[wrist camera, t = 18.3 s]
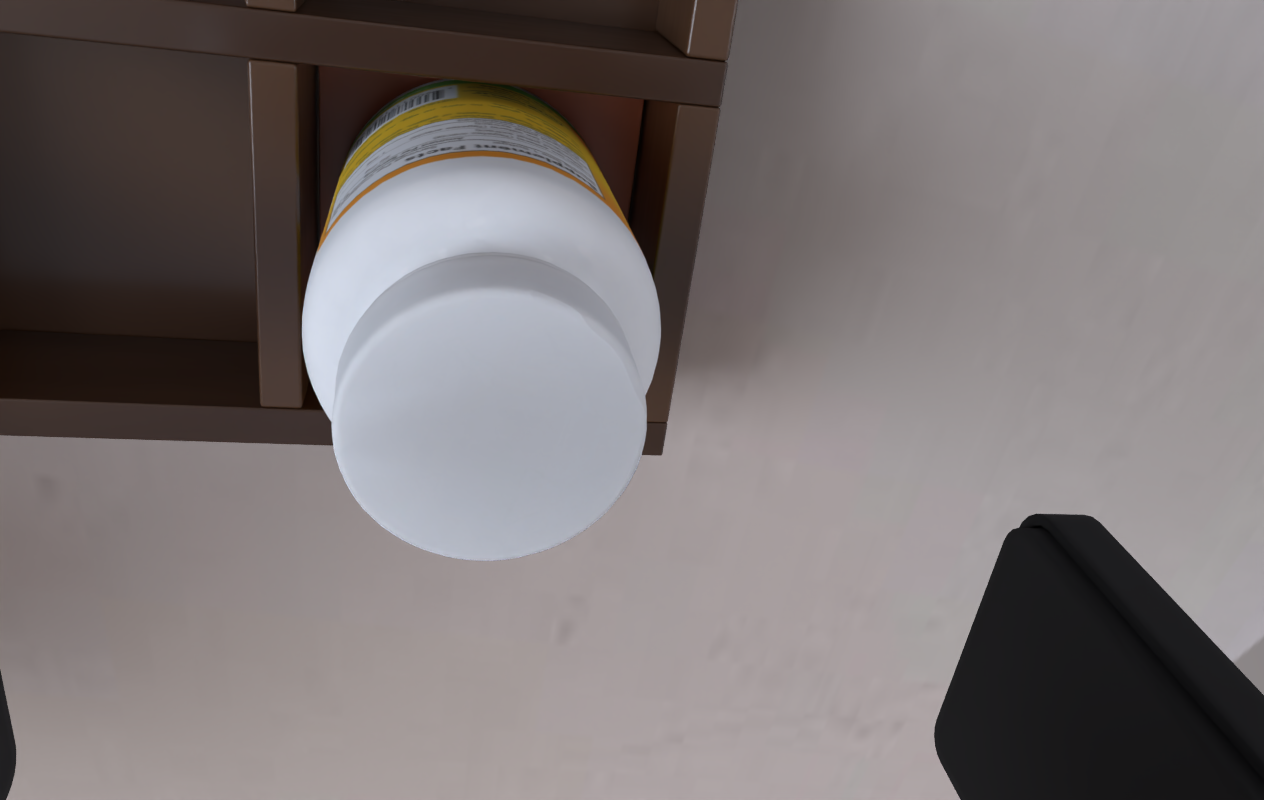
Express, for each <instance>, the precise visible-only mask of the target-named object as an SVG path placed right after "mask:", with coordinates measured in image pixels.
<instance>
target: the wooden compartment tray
mask: <svg viewBox="0 0 1264 800" xmlns="http://www.w3.org/2000/svg"><path fill="white" fill-rule="evenodd" d="M737 6H738V0H0V435H11V436H44V437H76V438H109V439H142V440H174V441H207V442H239V443H272V444H305V445H333V439H332V426H331V425H332V422H331V421H330V419H329V418H328V416H327V414H326V413H325V411H324V409H323V408H322V406H321V404H320V402H319V400H318V398H317V396H316V394H315V391H314V389H313V387H312V384H311V381H310V378H309V375H308V372H307V368H306V363H305V359H304V353H303V344H302V314H303V306H304V298H305V293H306V289H307V284H308V280H309V276H310V273H311V269H312V266H313V262H314V259H315V256H316V252H317V249H318V246H319V243H320V240H321V236H322V233H323V230H324V227H325V224H326V220H327V217H328V214H329V210H330V207H331V203H332V200H333V196H334V193H335V190H336V186H337V183H338V180H339V176H340V173H341V170H342V167H343V164H344V160H345V158H346V156H347V154H348V152H349V150H350V148H351V146H352V144H353V142H354V140H355V139H356V137H357V136H358V134H359V133H360V131H361V130H362V129H363V127H364V126H365V125H366V123H367V122H368V121H369V120H370V119H371V118H372V117H373V116H374V115H375V114H376V113H377V112H378V111H379V110H380V109H381V108H382V107H383V106H385V105H386V104H387V103H388V102H390V101H391V100H393V99H394V98H396V97H397V96H399V95H401V94H403V93H404V92H406V91H409V90H411V89H413V88H415V87H418V86H420V85H423V84H426V83H429V82H433V81H437V80H442V79H451V80H460V81H470V82H479V83H489V84H499V85H508V86H517V87H520V88H522V89H524V90H526V91H528V92H530V93H532V94H534V95H536V96H538V97H539V98H541V99H543V100H544V101H546V102H547V103H548V104H550V105H551V106H553V107H554V108H555V109H556V110H557V111H559V112H560V113H561V114H562V115H563V116H564V117H565V118H566V119H567V120H568V121H569V122H570V123H571V124H572V125H573V127H574V128H575V129H576V130H577V132H578V133H579V134H580V136H581V137H582V139H583V140H584V142H585V143H586V145H587V146H588V148H589V149H590V151H591V153H592V155H593V157H594V159H595V160H596V162H597V164H598V166H599V168H600V170H601V172H602V174H603V176H604V178H605V180H606V182H607V184H608V186H609V187H610V190H611V192H612V194H613V196H614V198H615V200H616V201H617V203H618V205H619V207H620V209H621V211H622V213H623V215H624V217H625V219H626V221H627V223H628V225H629V227H630V229H631V231H632V233H633V235H634V237H635V239H636V241H637V242H638V244H639V246H640V248H641V250H642V252H643V255H644V257H645V259H646V262H647V265H648V267H649V270H650V272H651V275H652V278H653V281H654V285H655V288H656V292H657V297H658V302H659V308H660V321H661V339H660V348H659V354H658V360H657V364H656V367H655V371H654V375H653V379H652V381H651V384H650V386H649V388H648V391H647V393H646V395H645V398H646V406H647V431H646V438H645V443H644V447H643V451H642V455H662V452H663V446H664V441H665V435H666V429H667V421H668V416H669V411H670V405H671V399H672V393H673V387H674V381H675V375H676V369H677V363H678V357H679V351H680V346H681V340H682V334H683V328H684V322H685V316H686V310H687V304H688V298H689V292H690V286H691V281H692V275H693V269H694V263H695V257H696V251H697V245H698V239H699V233H700V227H701V221H702V216H703V210H704V204H705V198H706V192H707V186H708V180H709V174H710V168H711V162H712V156H713V151H714V145H715V139H716V133H717V127H718V121H719V115H720V108H718V107H720V105H721V102H722V97H723V91H724V85H725V79H726V73H727V67H728V65H727V62H725V61H726V60H727V59H728V57H729V53H730V47H731V42H732V36H733V30H734V24H735V18H736V12H737Z"/></svg>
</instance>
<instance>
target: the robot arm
mask: <svg viewBox="0 0 1264 800" xmlns="http://www.w3.org/2000/svg"><path fill="white" fill-rule="evenodd" d="M934 738H935V746H936V751H937V755H938V757H939V759H940V762H941V764H942V766H943V767H944V769H945V771H946V773H947V775H948V777H949V779H950V781H951V782H952V784H953V786H954V788H955V790H956V792H957V794H958V796H959V797H960V799H961V800H1264V695H1263V694H1262V693H1261V692H1260V691H1259V690H1258V689H1257V688H1256V687H1255V686H1254V685H1253V684H1252V682H1251V681H1250V680H1249V679H1248V678H1247V677H1246V676H1245V675H1244V674H1243V673H1242V672H1241V671H1240V670H1239V669H1238V668H1237V667H1236V666H1235V665H1234V663H1233V662H1232V661H1231V660H1230V659H1229V658H1228V657H1227V656H1226V655H1225V654H1224V653H1223V652H1222V651H1221V650H1220V649H1219V648H1218V647H1217V646H1216V644H1215V643H1214V642H1213V641H1212V640H1211V639H1210V638H1209V637H1208V636H1207V635H1206V634H1205V633H1204V632H1203V631H1202V630H1201V629H1200V628H1199V627H1198V626H1197V624H1196V623H1195V622H1194V621H1193V620H1192V619H1191V618H1190V617H1189V616H1188V615H1187V614H1186V613H1185V612H1184V611H1183V610H1182V609H1181V608H1180V607H1179V605H1178V604H1177V603H1176V602H1175V601H1174V600H1173V599H1172V598H1171V597H1170V596H1169V595H1168V594H1167V593H1166V592H1165V591H1164V590H1163V589H1162V588H1161V586H1160V585H1159V584H1158V583H1157V582H1156V581H1155V580H1154V579H1153V578H1152V577H1151V576H1150V575H1149V574H1148V573H1147V572H1146V571H1145V570H1144V569H1143V568H1142V566H1141V565H1140V564H1139V563H1138V562H1137V561H1136V560H1135V559H1134V558H1133V557H1132V556H1131V555H1130V554H1129V553H1128V552H1127V551H1126V550H1125V549H1124V547H1123V546H1122V545H1121V544H1120V543H1119V542H1118V541H1117V540H1116V539H1115V538H1114V537H1113V536H1112V535H1111V534H1110V533H1109V532H1108V531H1107V530H1106V528H1105V527H1104V526H1103V525H1102V524H1101V523H1100V522H1098V521H1097V520H1096V519H1094V518H1093V517H1091V516H1086V515H1065V514H1034V515H1031V516H1028V517H1027V518H1026V519H1025V520H1024V521H1023V522H1022V524H1021V525H1020V527H1019V528H1017V529H1013V530H1012V531H1011V532H1009V533H1008V534H1007V536H1006V538H1005V540H1004V542H1003V545H1002V548H1001V550H1000V553H999V556H998V558H997V561H996V564H995V566H994V569H993V572H992V574H991V577H990V580H989V582H988V585H987V588H986V590H985V593H984V595H983V598H982V601H981V603H980V606H979V609H978V611H977V614H976V617H975V619H974V622H973V625H972V627H971V630H970V633H969V635H968V638H967V641H966V643H965V646H964V649H963V651H962V654H961V657H960V659H959V662H958V665H957V667H956V670H955V673H954V675H953V678H952V681H951V683H950V686H949V688H948V691H947V694H946V696H945V699H944V702H943V704H942V707H941V710H940V712H939V715H938V718H937V721H936V725H935V733H934ZM15 766H16V745H15V739H14V735H13V730H12V725H11V720H10V715H9V710H8V705H7V700H6V696H5V691H4V686H3V681H2V676H1V671H0V800H6V798H7V796H8V793H9V791H10V788H11V785H12V781H13V777H14V773H15Z"/></svg>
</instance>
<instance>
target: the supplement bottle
mask: <svg viewBox="0 0 1264 800" xmlns="http://www.w3.org/2000/svg"><path fill="white" fill-rule="evenodd" d="M660 339H661V321H660V308H659V302H658V297H657V292H656V288H655V285H654V281H653V278H652V275H651V272H650V270H649V267H648V265H647V262H646V259H645V257H644V255H643V252H642V250H641V248H640V246H639V244H638V242H637V241H636V239H635V237H634V235H633V233H632V231H631V229H630V227H629V225H628V223H627V221H626V219H625V217H624V215H623V213H622V211H621V209H620V207H619V205H618V203H617V201H616V200H615V198H614V196H613V194H612V192H611V190H610V187H609V186H608V184H607V182H606V180H605V178H604V176H603V174H602V172H601V170H600V168H599V166H598V164H597V162H596V160H595V159H594V157H593V155H592V153H591V151H590V149H589V148H588V146H587V145H586V143H585V142H584V140H583V139H582V137H581V136H580V134H579V133H578V132H577V130H576V129H575V128H574V127H573V125H572V124H571V123H570V122H569V121H568V120H567V119H566V118H565V117H564V116H563V115H562V114H561V113H560V112H559V111H557V110H556V109H555V108H554V107H553V106H551V105H550V104H548V103H547V102H546V101H544V100H543V99H541V98H539V97H538V96H536V95H534V94H532V93H530V92H528V91H526V90H524V89H522V88H520V87H517V86H508V85H499V84H489V83H479V82H470V81H460V80H451V79H442V80H437V81H433V82H429V83H426V84H423V85H420V86H418V87H415V88H413V89H411V90H409V91H406V92H404V93H403V94H401V95H399V96H397V97H396V98H394V99H393V100H391V101H390V102H388V103H387V104H386V105H385V106H383V107H382V108H381V109H380V110H379V111H378V112H377V113H376V114H375V115H374V116H373V117H372V118H371V119H370V120H369V121H368V122H367V123H366V125H365V126H364V127H363V129H362V130H361V131H360V133H359V134H358V136H357V137H356V139H355V140H354V142H353V144H352V146H351V148H350V150H349V152H348V154H347V156H346V158H345V160H344V164H343V167H342V170H341V173H340V176H339V180H338V183H337V186H336V190H335V193H334V196H333V200H332V203H331V207H330V210H329V214H328V217H327V220H326V224H325V227H324V230H323V233H322V236H321V240H320V243H319V246H318V249H317V252H316V256H315V259H314V262H313V266H312V269H311V273H310V276H309V280H308V284H307V289H306V293H305V298H304V306H303V314H302V344H303V353H304V359H305V363H306V368H307V372H308V375H309V378H310V381H311V384H312V387H313V389H314V391H315V394H316V396H317V398H318V400H319V402H320V404H321V406H322V408H323V409H324V411H325V413H326V414H327V416H328V418H329V419H330V421H331V422H332V425H331V426H332V439H333V447H334V453H335V456H336V459H337V462H338V466H339V469H340V471H341V473H342V476H343V478H344V480H345V483H346V484H347V486H348V488H349V489H350V491H351V493H352V495H353V496H354V498H355V499H356V500H357V502H358V503H359V504H360V506H361V507H362V508H363V509H364V510H365V511H366V512H367V513H368V514H369V515H370V516H371V517H372V518H373V519H374V520H375V521H376V522H377V523H378V524H379V525H381V526H382V527H383V528H385V529H386V530H388V531H389V532H391V533H392V534H394V535H395V536H397V537H398V538H400V539H401V540H403V541H405V542H407V543H409V544H411V545H414V546H416V547H418V548H421V549H423V550H426V551H428V552H432V553H436V554H439V555H443V556H446V557H450V558H456V559H462V560H477V561H498V560H507V559H514V558H520V557H523V556H527V555H531V554H535V553H539V552H542V551H545V550H548V549H550V548H552V547H555V546H557V545H560V544H561V543H563V542H565V541H567V540H569V539H571V538H573V537H575V536H576V535H578V534H579V533H581V532H582V531H584V530H585V529H587V528H588V527H590V526H591V525H592V524H594V523H595V522H596V521H597V520H599V519H600V518H601V517H602V516H603V515H604V514H605V513H606V512H607V511H608V510H609V509H610V508H611V506H612V505H613V504H614V503H615V502H616V500H617V499H618V498H619V497H620V496H621V494H622V493H623V492H624V490H625V489H626V487H627V486H628V484H629V482H630V480H631V478H632V476H633V475H634V473H635V471H636V469H637V466H638V464H639V461H640V458H641V455H642V451H643V447H644V443H645V438H646V431H647V406H646V398H645V395H646V393H647V391H648V388H649V386H650V384H651V381H652V379H653V375H654V371H655V367H656V364H657V360H658V354H659V348H660Z"/></svg>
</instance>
